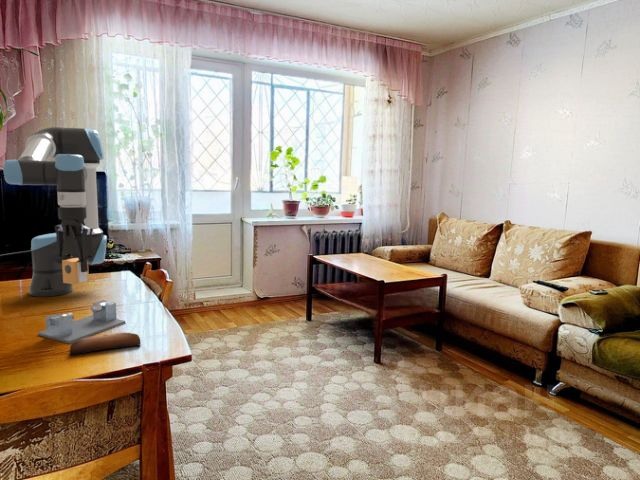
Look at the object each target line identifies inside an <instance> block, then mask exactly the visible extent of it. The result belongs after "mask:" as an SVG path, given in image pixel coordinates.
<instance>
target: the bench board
mask: <svg viewBox="0 0 640 480" xmlns="http://www.w3.org/2000/svg"><path fill="white" fill-rule="evenodd" d="M123 323H125V324H126V320H123V319H119V318H117V319H115V320H112V321H109V322H102V321H98V320H94V319H93V314H92V315H88V316H86V317H81V318H79V319H75V320H72V332H73V334H72V335H69V336H66V337H63V338H57V337H53V336H49V335H47V333H46V329H44V330H42V331H39V332H38V333H37V335H38V336H41V337H43V338H48V339H52V340H56V341H59V342H62V343H66V344H72V343H73V342H75V341H78V340H80V339H83V338H87V337H91V336H94V335H95V336H96V335H97V334H100V333H103V332H105V331H109V330H111V329H115V328H116V326H117V327H119V326H122V325H124V324H123ZM121 324H122V325H121Z"/></svg>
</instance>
